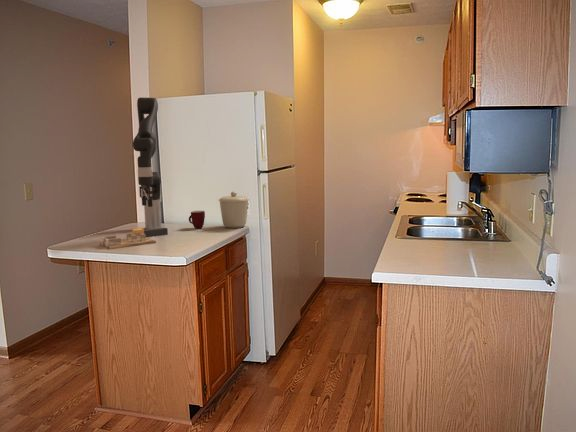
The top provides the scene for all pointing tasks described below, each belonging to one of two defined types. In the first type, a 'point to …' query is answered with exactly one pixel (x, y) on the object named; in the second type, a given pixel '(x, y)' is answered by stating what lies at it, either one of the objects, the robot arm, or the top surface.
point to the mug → (197, 219)
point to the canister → (234, 210)
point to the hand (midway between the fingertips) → (147, 206)
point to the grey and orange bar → (151, 232)
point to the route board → (126, 241)
